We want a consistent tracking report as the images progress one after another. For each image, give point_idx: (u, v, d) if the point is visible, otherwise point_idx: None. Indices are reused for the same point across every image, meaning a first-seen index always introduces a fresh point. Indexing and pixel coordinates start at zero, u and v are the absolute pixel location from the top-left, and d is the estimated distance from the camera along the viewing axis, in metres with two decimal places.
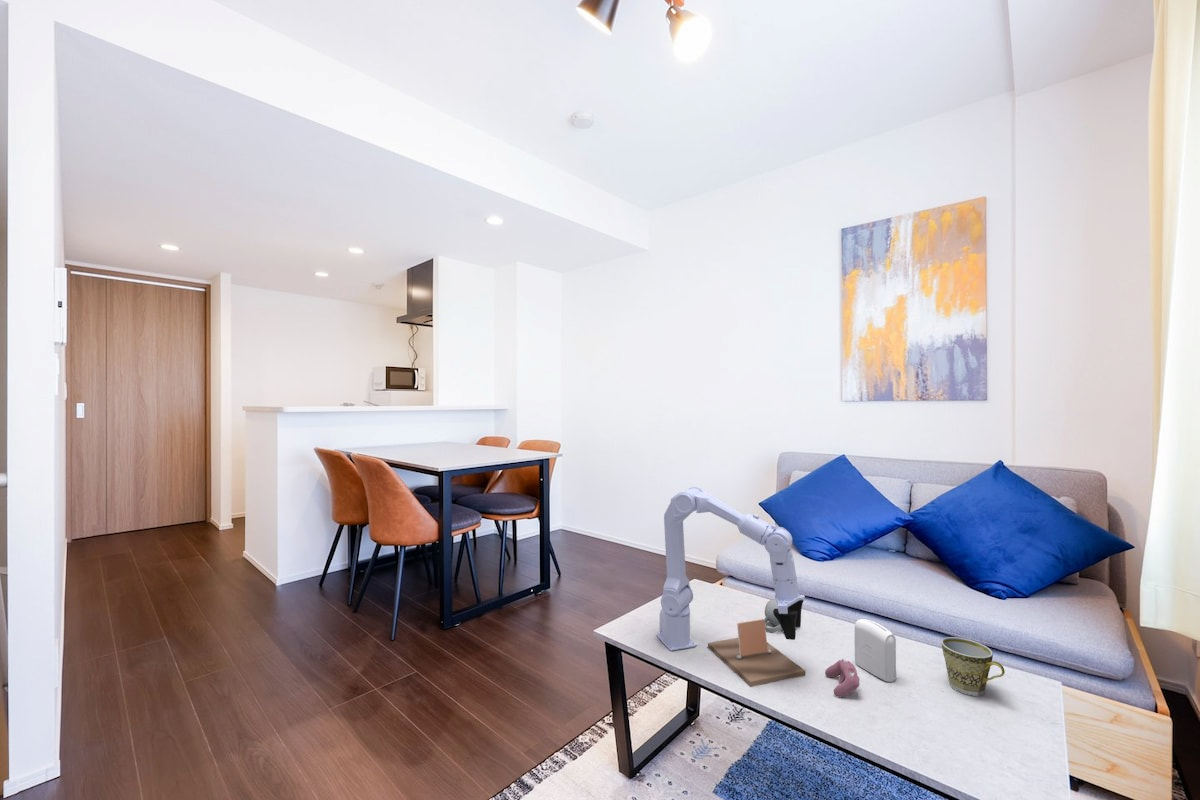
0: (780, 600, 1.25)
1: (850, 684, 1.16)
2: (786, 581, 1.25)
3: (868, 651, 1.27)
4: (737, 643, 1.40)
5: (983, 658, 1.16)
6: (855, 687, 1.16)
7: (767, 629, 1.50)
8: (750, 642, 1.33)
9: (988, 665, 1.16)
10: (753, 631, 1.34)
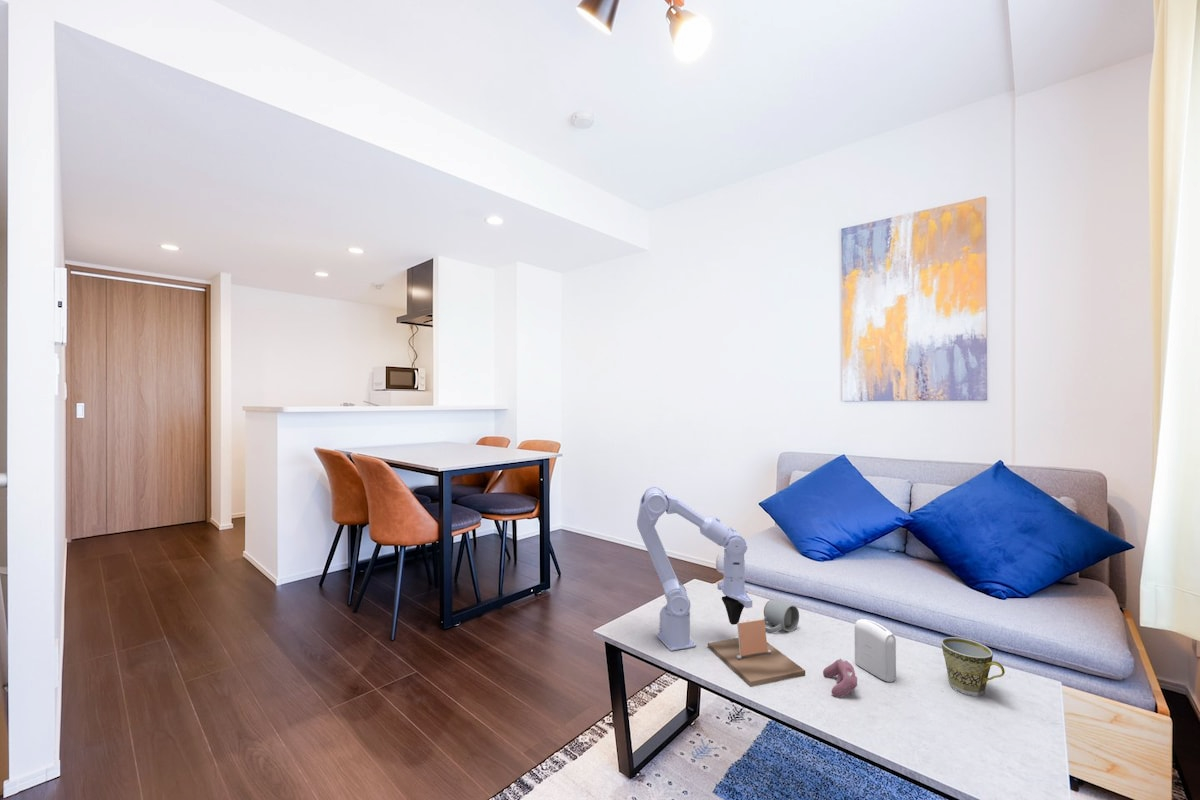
0: (736, 596, 1.39)
1: (848, 684, 1.16)
2: (742, 578, 1.40)
3: (868, 651, 1.27)
4: (737, 643, 1.40)
5: (984, 658, 1.16)
6: (853, 687, 1.16)
7: (766, 629, 1.49)
8: (750, 642, 1.33)
9: (988, 665, 1.16)
10: (753, 631, 1.34)
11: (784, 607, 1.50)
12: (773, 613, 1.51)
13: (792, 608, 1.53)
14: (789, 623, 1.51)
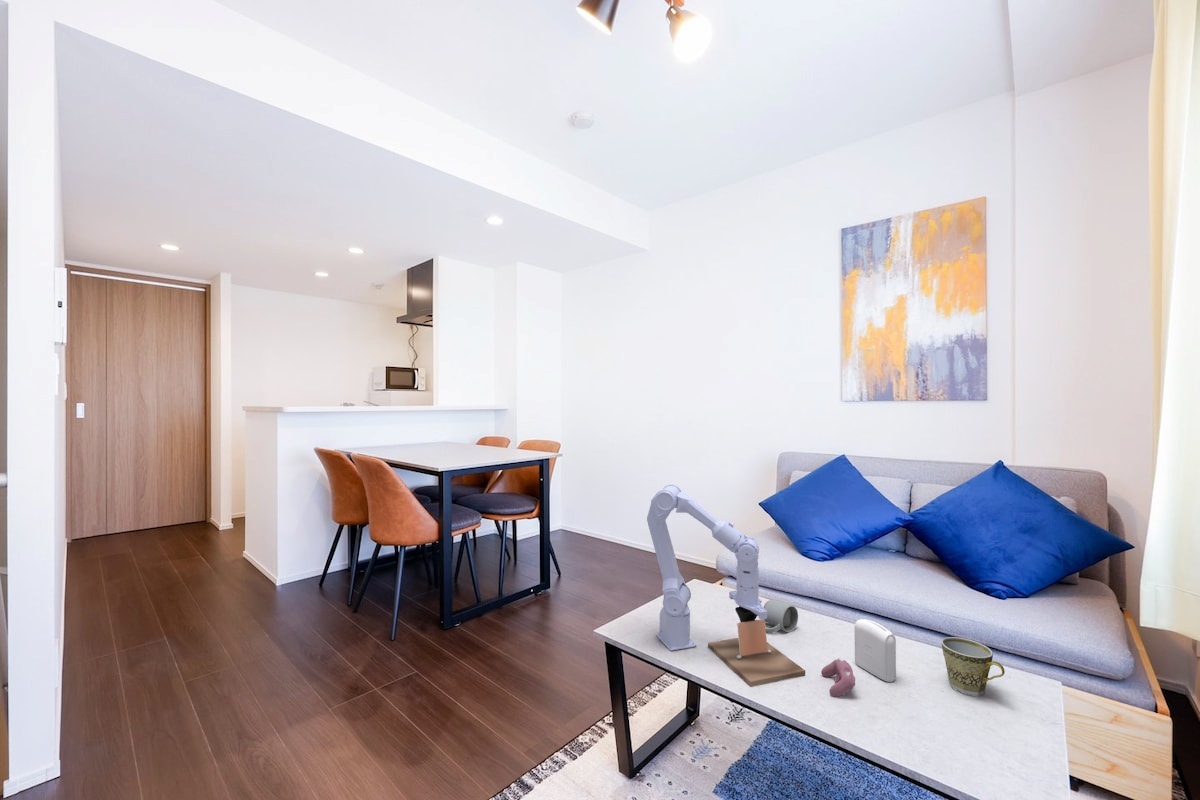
0: (750, 606, 1.33)
1: (846, 684, 1.17)
2: (756, 587, 1.34)
3: (868, 651, 1.27)
4: (737, 643, 1.40)
5: (984, 658, 1.16)
6: (851, 686, 1.16)
7: None
8: (750, 642, 1.33)
9: (988, 665, 1.16)
10: (753, 631, 1.34)
11: (783, 607, 1.50)
12: (772, 613, 1.51)
13: (791, 608, 1.53)
14: (788, 623, 1.51)
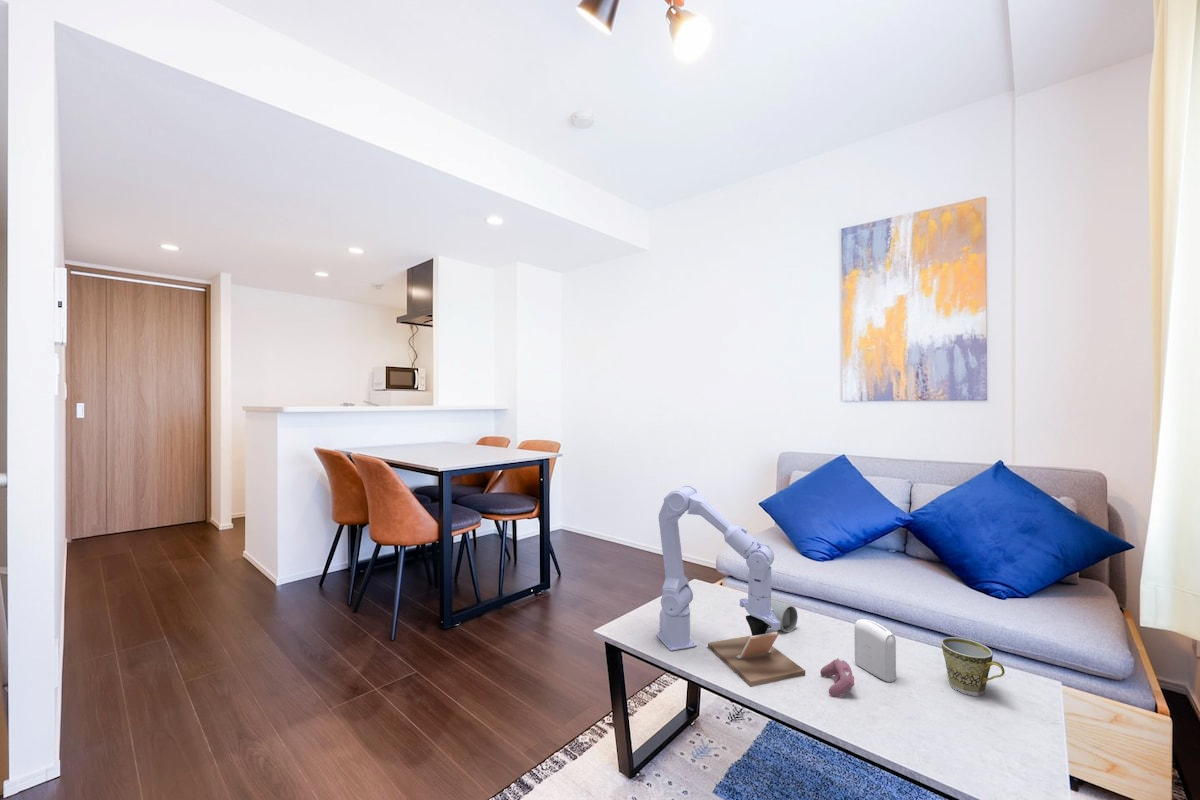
0: (762, 616, 1.28)
1: (845, 684, 1.17)
2: (769, 597, 1.29)
3: (868, 651, 1.27)
4: (737, 643, 1.40)
5: (983, 658, 1.16)
6: (850, 686, 1.16)
7: None
8: (755, 649, 1.31)
9: (988, 665, 1.16)
10: (762, 642, 1.30)
11: (783, 607, 1.49)
12: None
13: (790, 609, 1.53)
14: (787, 624, 1.51)
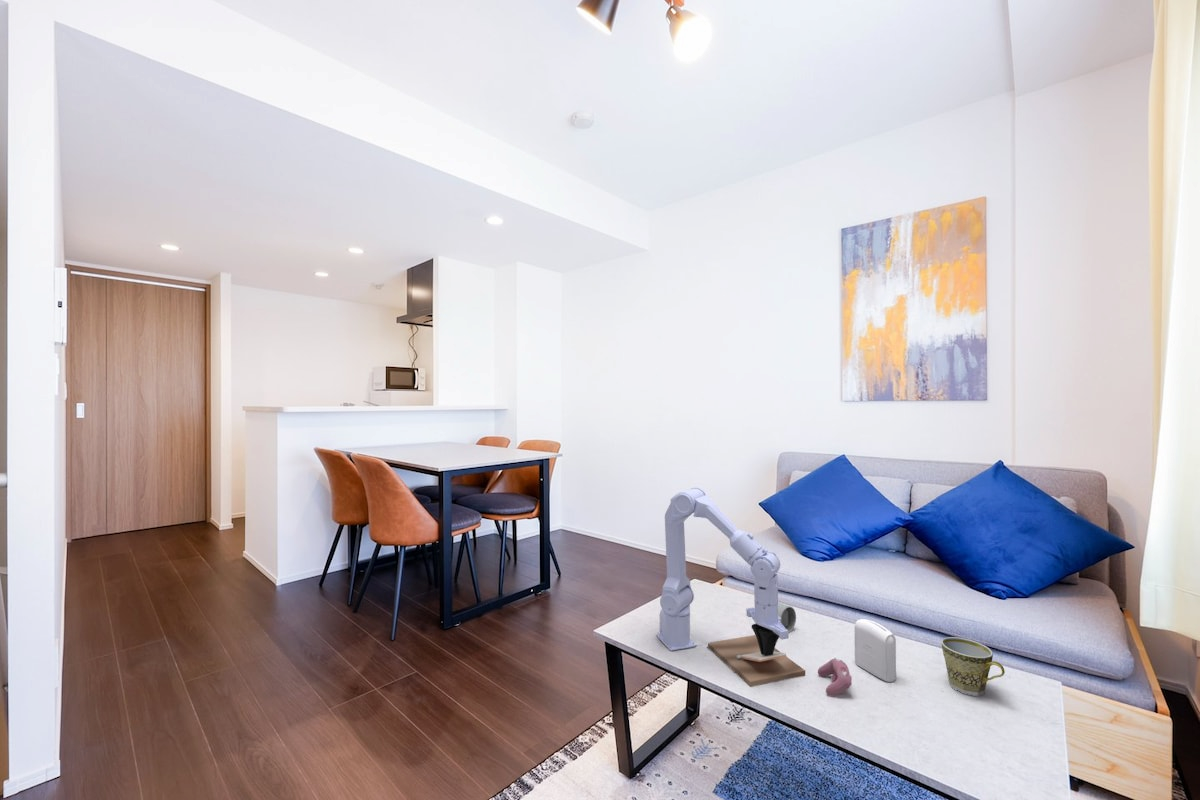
0: (769, 625, 1.25)
1: (842, 683, 1.17)
2: (776, 605, 1.26)
3: (868, 651, 1.27)
4: (737, 643, 1.40)
5: (983, 658, 1.16)
6: (847, 686, 1.17)
7: None
8: None
9: (988, 665, 1.16)
10: None
11: (781, 608, 1.49)
12: None
13: (789, 609, 1.52)
14: (786, 624, 1.51)
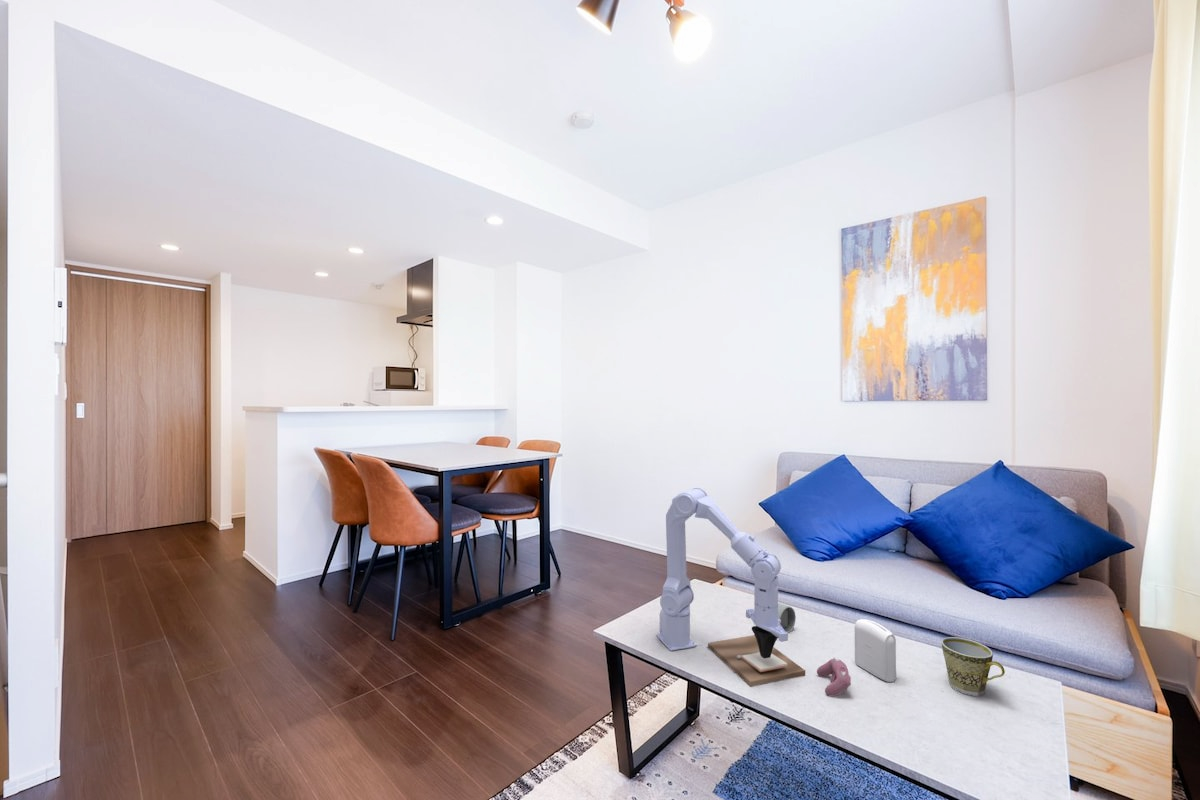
0: (769, 627, 1.25)
1: (842, 683, 1.17)
2: (775, 607, 1.26)
3: (868, 651, 1.27)
4: (737, 643, 1.40)
5: (984, 658, 1.16)
6: (847, 686, 1.17)
7: None
8: None
9: (988, 665, 1.16)
10: None
11: (781, 608, 1.49)
12: None
13: (788, 609, 1.52)
14: (785, 624, 1.50)
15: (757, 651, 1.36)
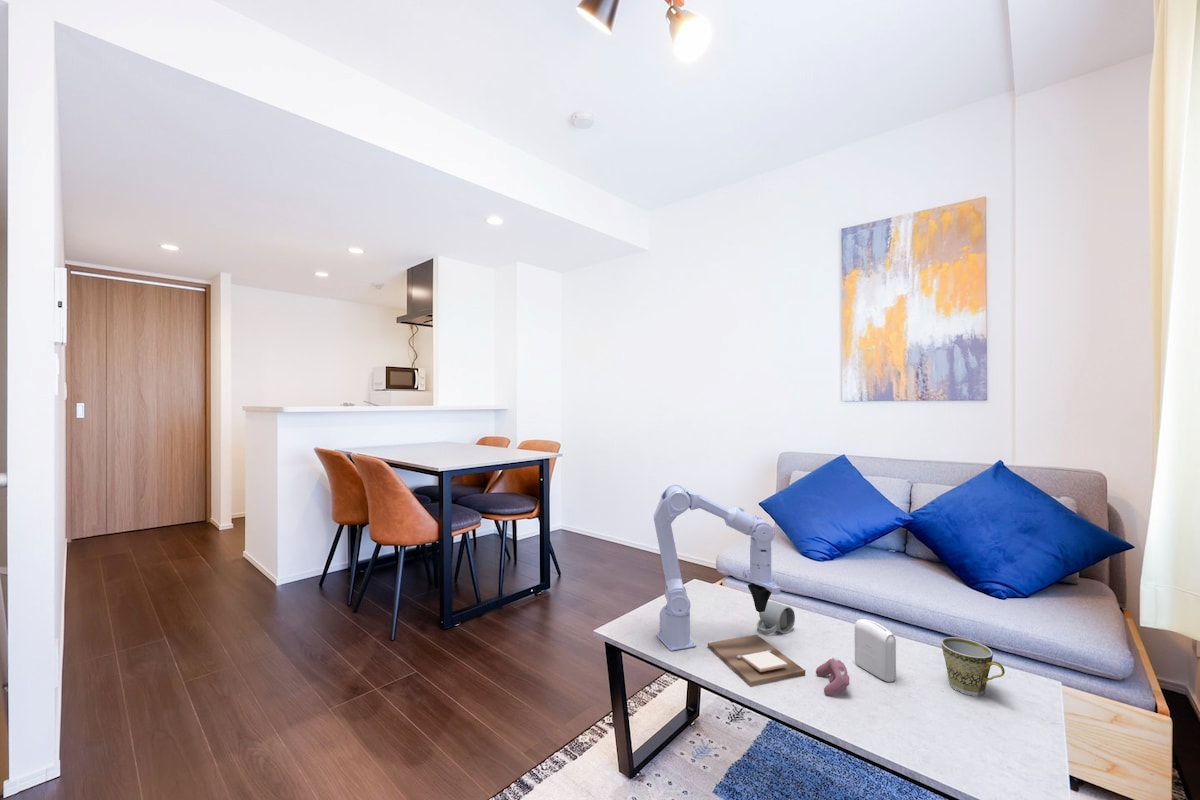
0: (763, 583, 1.39)
1: (840, 683, 1.17)
2: (769, 565, 1.40)
3: (868, 651, 1.27)
4: (737, 643, 1.40)
5: (984, 658, 1.16)
6: (845, 686, 1.17)
7: (761, 631, 1.48)
8: None
9: (988, 665, 1.16)
10: None
11: (780, 609, 1.49)
12: (768, 614, 1.50)
13: (788, 610, 1.52)
14: (785, 625, 1.50)
15: (757, 651, 1.36)
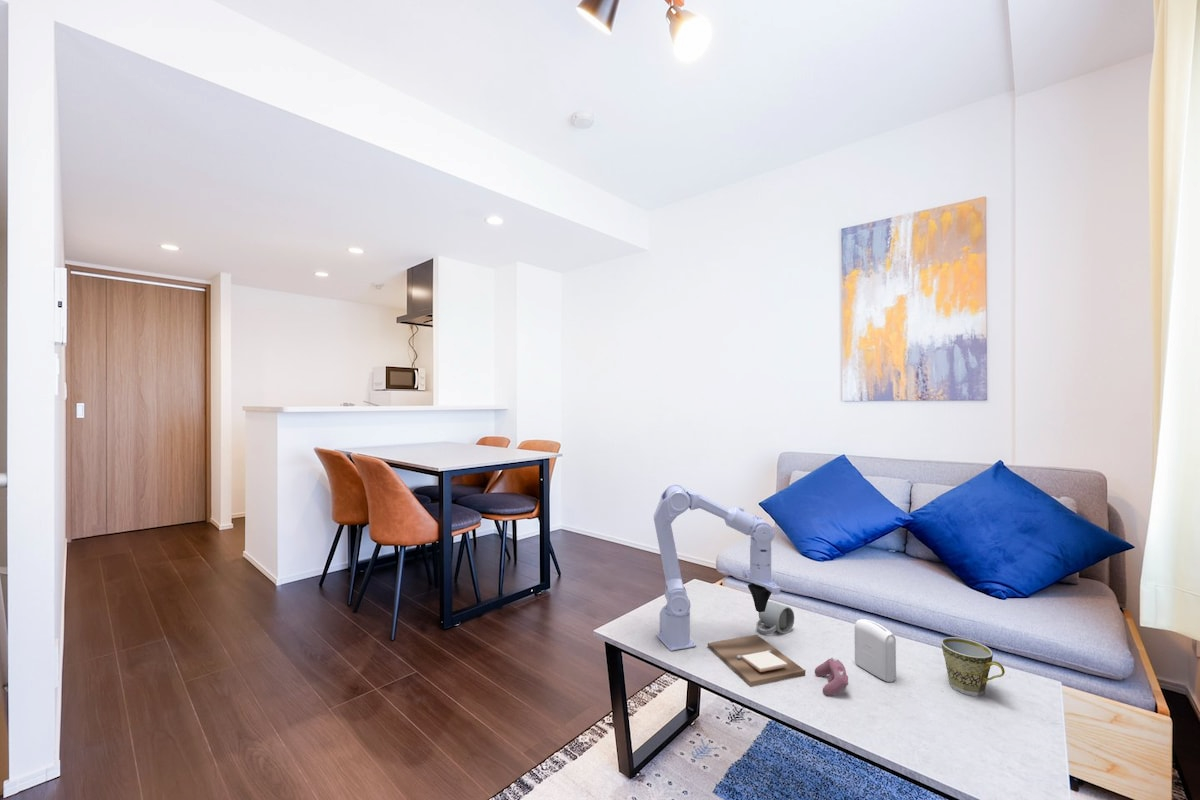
0: (763, 583, 1.39)
1: (839, 683, 1.17)
2: (769, 565, 1.40)
3: (868, 651, 1.27)
4: (737, 643, 1.40)
5: (984, 658, 1.16)
6: (844, 686, 1.17)
7: (761, 631, 1.48)
8: None
9: (988, 665, 1.16)
10: None
11: (779, 609, 1.49)
12: (767, 615, 1.50)
13: (787, 610, 1.52)
14: (784, 625, 1.50)
15: (757, 651, 1.36)
